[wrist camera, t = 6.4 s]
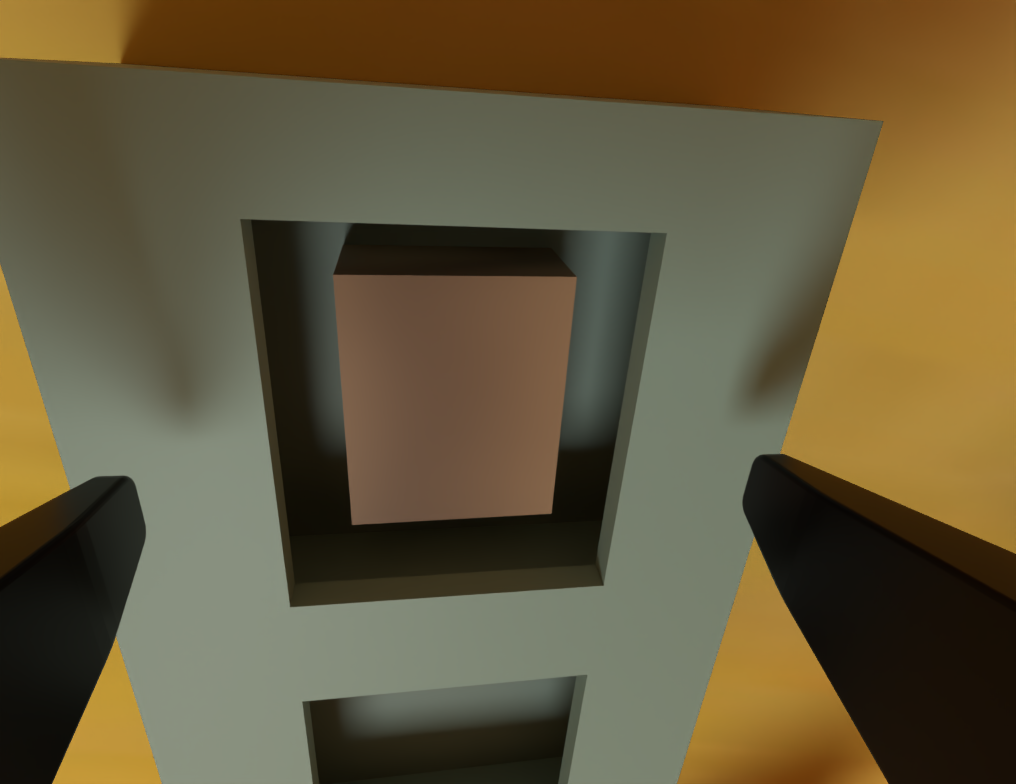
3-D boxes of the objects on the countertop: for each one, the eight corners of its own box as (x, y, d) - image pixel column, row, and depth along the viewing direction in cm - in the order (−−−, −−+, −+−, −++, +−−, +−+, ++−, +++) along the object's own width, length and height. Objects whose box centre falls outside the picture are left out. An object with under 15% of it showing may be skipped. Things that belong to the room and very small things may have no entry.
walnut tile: (550, 248, 12) (577, 276, 10) (532, 460, 14) (551, 513, 13) (342, 244, 11) (333, 274, 10) (358, 467, 14) (352, 525, 12)
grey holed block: (720, 106, 13) (883, 121, 9) (599, 710, 22) (650, 870, 18) (118, 63, 11) (-65, 54, 7) (251, 747, 20) (210, 937, 16)
